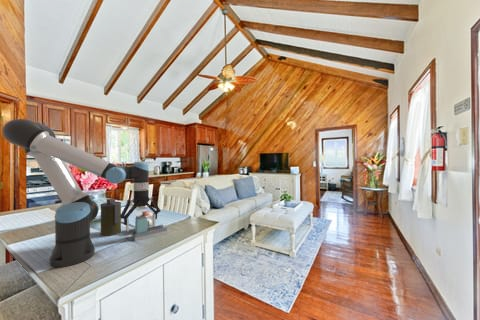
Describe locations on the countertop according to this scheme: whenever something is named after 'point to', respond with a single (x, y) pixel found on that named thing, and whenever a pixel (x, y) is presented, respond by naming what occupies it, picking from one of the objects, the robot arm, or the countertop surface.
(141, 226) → the block
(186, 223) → the countertop surface
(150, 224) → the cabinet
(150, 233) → the rail
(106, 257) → the countertop surface
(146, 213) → the button
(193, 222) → the countertop surface
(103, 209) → the canister
